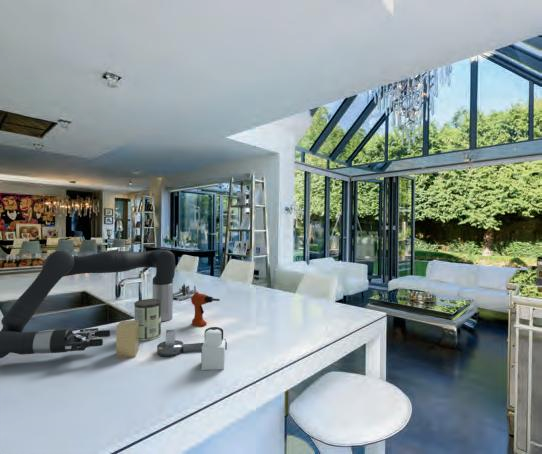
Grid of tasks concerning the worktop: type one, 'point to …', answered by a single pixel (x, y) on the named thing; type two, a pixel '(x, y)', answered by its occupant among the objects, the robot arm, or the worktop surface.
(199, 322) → the toy drill
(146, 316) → the coffee can
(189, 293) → the grey toy warship
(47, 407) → the worktop surface
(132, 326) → the brushed brass block
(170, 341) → the ratchet
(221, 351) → the medicine bottle
